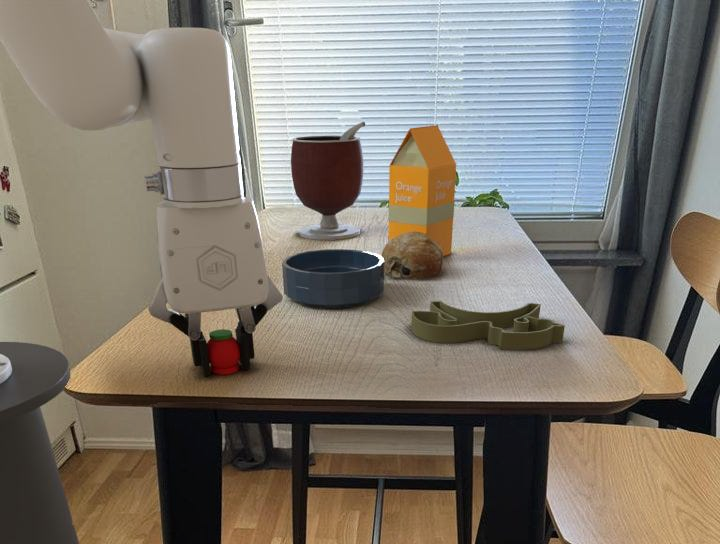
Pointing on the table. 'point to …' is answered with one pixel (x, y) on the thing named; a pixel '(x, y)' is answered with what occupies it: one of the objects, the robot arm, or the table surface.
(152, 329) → the table surface
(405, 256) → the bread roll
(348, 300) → the bowl
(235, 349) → the red green jar
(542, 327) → the cookie cutter
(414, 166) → the orange juice
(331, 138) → the mate gourd
